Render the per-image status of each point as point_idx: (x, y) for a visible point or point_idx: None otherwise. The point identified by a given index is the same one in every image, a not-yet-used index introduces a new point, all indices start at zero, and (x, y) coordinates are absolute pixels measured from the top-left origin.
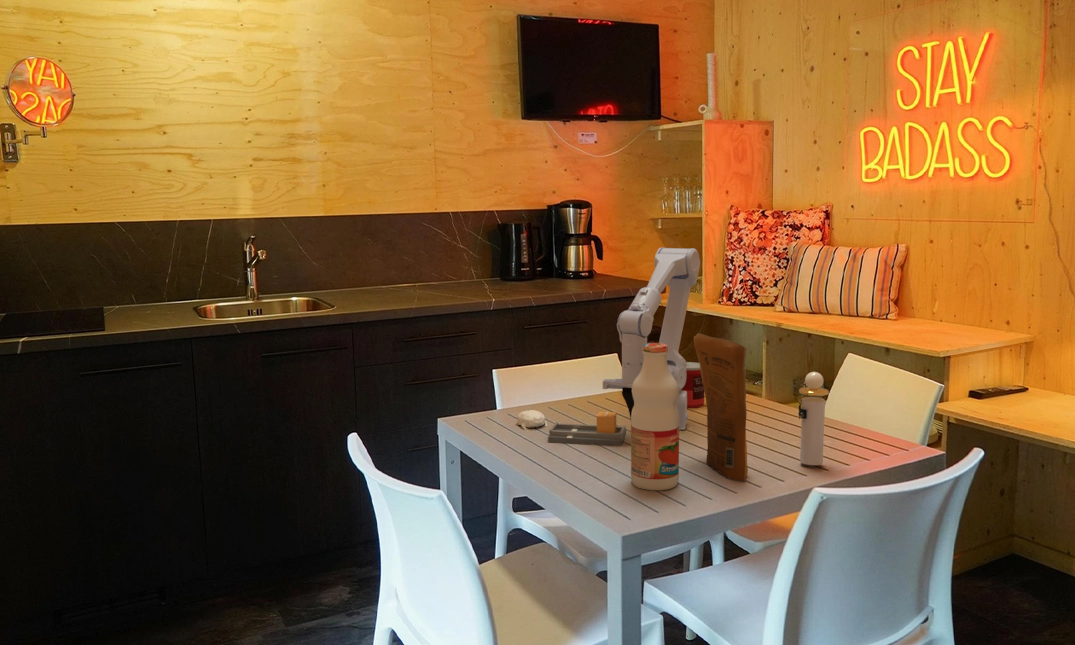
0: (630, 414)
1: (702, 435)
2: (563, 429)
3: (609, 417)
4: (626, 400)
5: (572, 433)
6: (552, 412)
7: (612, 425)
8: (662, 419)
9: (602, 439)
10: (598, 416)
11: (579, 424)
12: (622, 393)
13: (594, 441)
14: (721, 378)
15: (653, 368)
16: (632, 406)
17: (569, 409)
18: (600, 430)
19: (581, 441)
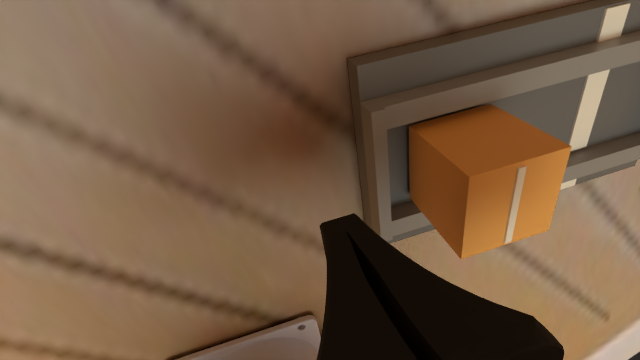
0: (373, 233)
1: (57, 355)
2: (620, 127)
3: (494, 166)
4: (462, 297)
5: (611, 45)
6: (604, 293)
7: (445, 148)
8: None
9: (455, 53)
10: (561, 148)
11: (572, 176)
12: (558, 342)
13: (488, 29)
14: None
15: None
16: (383, 279)
17: (558, 330)
18: (488, 116)
19: (547, 15)
